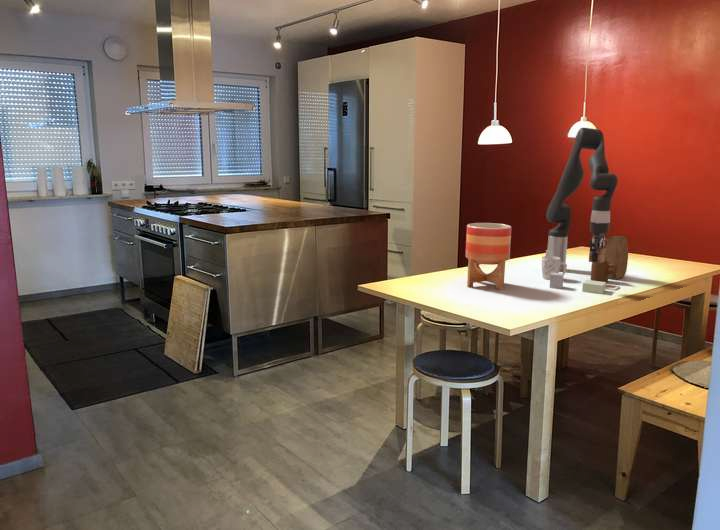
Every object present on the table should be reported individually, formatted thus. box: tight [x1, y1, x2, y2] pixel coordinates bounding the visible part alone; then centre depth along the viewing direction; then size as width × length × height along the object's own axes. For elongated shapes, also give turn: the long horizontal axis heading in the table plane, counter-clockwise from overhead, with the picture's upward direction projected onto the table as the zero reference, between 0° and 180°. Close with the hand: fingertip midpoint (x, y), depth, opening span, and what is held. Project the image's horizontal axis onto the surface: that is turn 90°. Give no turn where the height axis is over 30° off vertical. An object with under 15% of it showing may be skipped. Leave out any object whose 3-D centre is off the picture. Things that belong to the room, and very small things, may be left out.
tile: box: [605, 283, 621, 291], centre depth 256 cm, size 7×7×1 cm
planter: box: [465, 222, 512, 291], centre depth 256 cm, size 20×20×27 cm
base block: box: [581, 279, 607, 295], centre depth 249 cm, size 8×8×4 cm
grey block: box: [549, 272, 565, 290], centre depth 255 cm, size 5×5×6 cm
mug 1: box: [541, 255, 568, 281], centre depth 272 cm, size 11×8×10 cm
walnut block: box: [588, 247, 606, 263], centre depth 246 cm, size 5×5×6 cm
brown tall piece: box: [605, 235, 629, 280], centre depth 275 cm, size 11×8×20 cm
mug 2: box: [590, 261, 618, 283], centre depth 267 cm, size 12×8×9 cm, turn 39°
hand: (596, 260), depth 247 cm, fingers closed on walnut block, 5 cm apart
